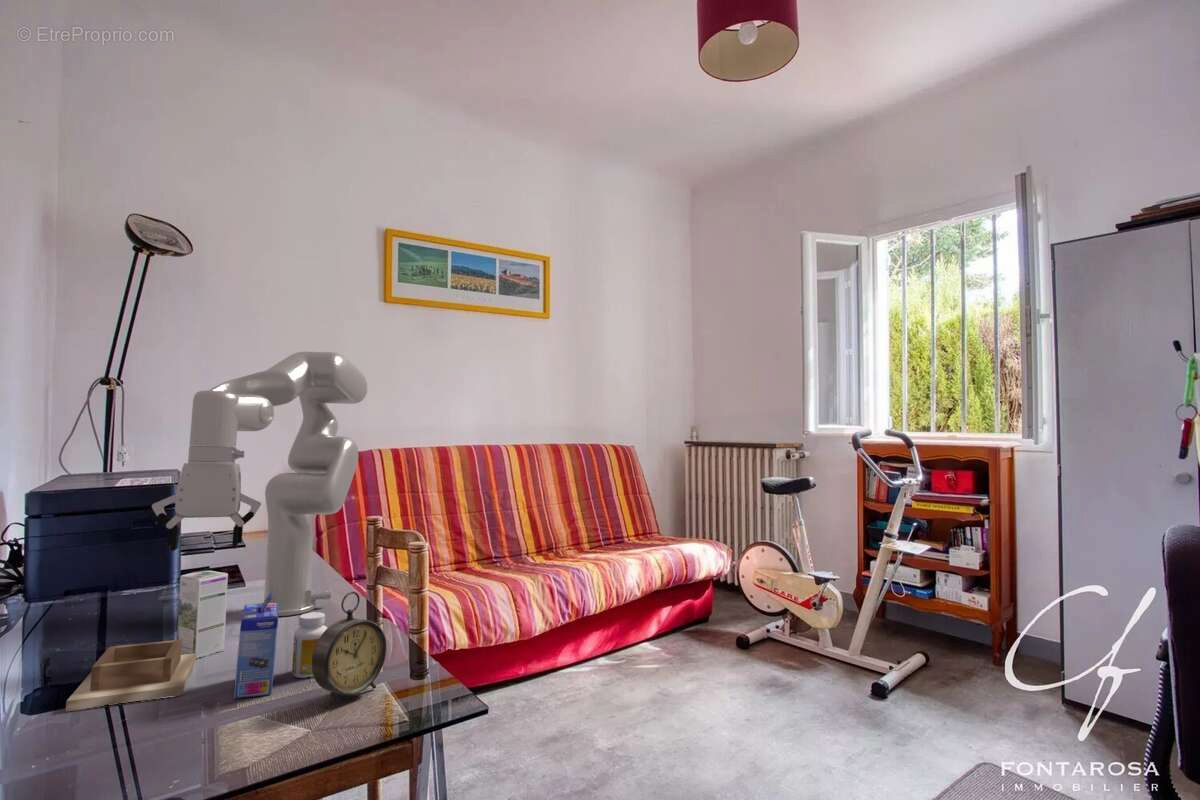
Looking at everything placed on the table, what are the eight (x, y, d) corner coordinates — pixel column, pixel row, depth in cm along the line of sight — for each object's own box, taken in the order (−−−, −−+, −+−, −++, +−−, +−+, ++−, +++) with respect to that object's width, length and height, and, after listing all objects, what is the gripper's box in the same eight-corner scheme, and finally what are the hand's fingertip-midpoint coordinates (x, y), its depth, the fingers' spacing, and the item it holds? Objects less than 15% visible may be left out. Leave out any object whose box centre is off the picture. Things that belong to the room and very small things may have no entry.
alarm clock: (325, 714, 91) (331, 601, 92) (303, 705, 93) (309, 595, 95) (386, 689, 100) (391, 587, 101) (364, 682, 103) (369, 582, 104)
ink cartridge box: (274, 695, 97) (279, 600, 98) (233, 701, 94) (239, 604, 95) (274, 673, 106) (279, 587, 107) (237, 678, 103) (242, 590, 104)
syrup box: (225, 650, 116) (230, 572, 117) (193, 660, 110) (198, 578, 111) (206, 645, 118) (211, 568, 119) (173, 655, 113) (179, 574, 114)
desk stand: (196, 661, 110) (197, 633, 110) (181, 696, 96) (183, 662, 96) (97, 673, 104) (99, 642, 104) (65, 711, 89) (68, 676, 90)
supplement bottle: (333, 669, 108) (336, 612, 108) (309, 680, 103) (312, 621, 103) (309, 665, 110) (312, 609, 110) (284, 676, 104) (287, 617, 105)
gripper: (265, 456, 124) (258, 543, 122) (160, 455, 116) (152, 547, 115) (263, 457, 117) (256, 549, 116) (152, 455, 109) (144, 554, 108)
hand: (205, 548), depth 115 cm, fingers open, 9 cm apart
